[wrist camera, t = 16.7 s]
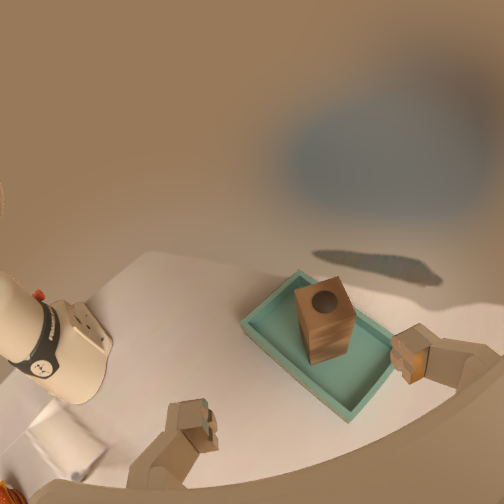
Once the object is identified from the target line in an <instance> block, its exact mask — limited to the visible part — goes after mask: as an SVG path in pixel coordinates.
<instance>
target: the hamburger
mask: <svg viewBox="0 0 504 504" xmlns="http://www.w3.org/2000/svg"><path fill="white" fill-rule="evenodd" d="M0 504H27V502H26V500H25V498H24V497H23V496H22V495H21V493H20V492H18V491H17V490H15V489H9V488H6V486H5V484H4V481H3V480H2V481H1V482H0Z"/></svg>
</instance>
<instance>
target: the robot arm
mask: <svg viewBox="0 0 504 504" xmlns="http://www.w3.org/2000/svg"><path fill="white" fill-rule="evenodd" d="M3 211H4V195H3V189H2V185H1V182H0V219H1V218H2V216H3ZM44 299H45V296H44V294H43V292H42V291H40V290H39V289H38V290H37V291H36V293H35V294H33V295H30V294H29V293H28V292H27V291H26V290H25V289H24V288H23V287H22V286H21V285H20V284H19V283H18V282H17V281H16V280H15V279H14V278H13V277H12V276H11V275H9V274H7V273H4V272H1V271H0V355H2V356H3V357H5V358H7V359H8V361H9V363H10V364H11V365H13V366H14V367H15V368H16V369H18V370H20V371H22V372H23V373H25V374H26V375H27V376H28V377H30V378H31V379H32V380H34V381H35V382H37V383H38V384H39V385H41V386H42V387H44V388H46V390H47V392H48V393H49V394H50V395H52V396H57V397H60V398H62V399H63V400H64V401H66V402H67V403H70V404H81V403H84V402H86V401H88V400H89V399H90V398H91V397H92V396H93V395H94V394H95V393H96V392H97V390H98V389H99V387H100V385H101V383H102V381H103V378H104V375H105V370H106V362H107V357H108V355H109V352H110V350H111V348H112V345H113V341H112V339H111V338H110V337H109V335H108V334H107V333H106V332H105V330H104V329H103V328H102V326H101V325H100V324H99V323H98V321H97V320H96V319H95V317H94V316H93V314H92V313H91V312H90V310H89V309H88V307H87V306H86V305H85V304H84V303H83V302H78V303H76V304H73V305H70V304H68V303H67V302H66V301H64V300H59V301H56V302H54V303H52V304H51V305H48V304H45V303H43V302H41V301H42V300H44ZM391 345H392V346H393V348H392V350H391V352H390V358H391V362H392V364H393V366H394V368H395V369H396V370H397V371H401V372H402V377H403V378H404V379H405V380H406V382H407V383H408V384H409V385H410V384H412V383H414V382H416V381H418V380H420V379H422V378H423V377H425V378H427V379H430V380H433V381H435V382H438V383H441V384H444V385H447V386H449V387H452V388H455V389H457V390H456V393H455V395H454V396H452V397H451V398H449V399H448V400H446V401H445V402H443V403H442V404H441V405H439V406H437V407H436V408H434V409H433V410H431V411H430V412H428V413H426V414H425V415H423V416H421V417H420V418H418V419H416V420H415V421H413V422H411V423H409V424H408V425H406V426H404V427H402V428H400V429H399V430H397V431H395V432H393V433H391V434H389V435H387V436H385V437H383V438H381V439H379V440H377V441H374V442H372V443H370V444H368V445H366V446H363V447H361V448H359V449H356V450H354V451H352V452H349V453H347V454H344V455H342V456H339V457H336V458H334V459H331V460H328V461H325V462H322V463H319V464H316V465H313V466H310V467H307V468H303V469H300V470H297V471H293V472H289V473H285V474H282V475H277V476H273V477H269V478H264V479H260V480H255V481H249V482H244V483H238V484H231V485H224V486H216V487H207V488H195V489H187V488H186V487H185V486H184V485H183V484H182V482H183V481H184V479H185V478H186V476H187V474H188V473H189V471H190V469H191V468H192V466H193V465H194V463H195V461H196V460H197V458H198V456H199V454H200V453H206V452H212V451H218V450H219V448H218V438H217V436H216V434H215V433H216V432H217V422H216V418H215V416H214V413H213V412H212V410H210V409H208V403H207V401H206V399H204V398H202V399H195V400H189V401H182V402H177V403H170V404H169V406H168V412H167V419H166V426H165V432H161V433H160V434H159V436H158V437H157V438H156V439H155V440H154V441H153V442H152V443H151V444H150V445H149V446H148V448H147V449H146V450H145V451H144V452H143V453H142V454H141V455H140V456H139V457H138V458H137V459H136V460H135V461H134V462H133V464H132V465H131V466H130V469H129V474H128V480H127V486H126V489H125V488H114V487H104V486H97V485H90V484H84V483H78V482H73V481H68V480H64V479H54V480H53V481H51V482H49V483H48V484H46V485H45V486H44V487H42V488H41V489H40V490H38V491H37V492H36V493H34V494H33V496H32V497H31V499H30V500H29V502H28V504H504V355H503V356H502V357H501V356H500V355H499V354H497V353H496V352H495V351H493V350H492V349H491V348H489V347H488V346H487V345H485V344H478V343H471V342H465V341H458V340H452V339H446V338H443V339H440V338H439V337H438V336H436V335H435V334H434V333H433V332H431V331H430V330H429V329H428V328H426V327H425V326H424V325H422V324H421V323H418V324H416V325H414V326H413V327H411V328H409V329H407V330H405V331H403V332H401V333H399V334H397V335H395V336H393V337H392V338H391Z"/></svg>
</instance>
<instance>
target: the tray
mask: <svg viewBox="0 0 504 504" xmlns="http://www.w3.org/2000/svg"><path fill="white" fill-rule="evenodd" d="M316 283H318V282H317V281H315V280H314V279H312V278H311V277H309V276H308V275H306V274H305V273H304V272H302V271H301V270H298V271H297V272H296V273H294V274H293V275H292V276H291V277H290V278H289V279H288V280H287V281H286V282H285V283H283V284H282V285H281V286H280V287H279V288H278V289H277V290H276V291H275V292H273V293H272V294H271V295H270V296H269V297H268V298H267V299H266V300H264V301H263V302H262V303H261V304H260V305H259V306H258V307H257V308H255V309H254V310H253V311H252V312H251V313H250V314H248V315H247V316H246V317H245V318H244V319H243V320H242V321H240V322H239V324H240V326H241V327H242V329H243V331H244V332H245V333H246V334H247V335H248V336H249V337H250V338H251V339H252V340H253V341H254V342H255V343H256V344H257V345H258V346H259V347H260V348H261V349H262V350H264V351H265V352H266V353H267V354H268V355H269V356H270V357H271V358H272V359H273V360H274V361H275V362H277V363H278V364H279V365H280V366H281V367H282V368H283V369H284V370H285V371H286V372H288V373H289V374H290V375H291V376H292V377H293V378H294V379H295V380H297V381H298V382H299V383H300V384H301V385H302V386H303V387H305V388H306V389H307V390H308V391H309V392H310V393H312V394H313V395H314V396H315V397H316V398H317V399H319V400H320V401H321V402H322V403H323V404H325V405H326V406H327V407H328V408H329V409H331V410H332V411H333V412H334V413H335V414H337V415H338V416H339V417H340V418H342V419H343V420H344V421H345V422H347V423H349V422H351V421H352V420H353V419H354V418H355V416H356V415H357V414H358V413H359V412H360V411H361V410H362V409H363V407H364V406H365V405H366V404H367V403H368V402H369V400H370V399H371V398H372V397H373V396H374V394H375V393H376V392H377V391H378V389H379V388H380V387H381V386H382V384H383V383H384V382H385V381H386V379H387V378H388V377H389V375H390V374H391V373H392V371H393V370H394V369H395V368H394V366H393V364H392V362H391V358H390V352H391V350H392V348H393V346H392V345H391V338H392V337H393V336H395V335H393V334H392V333H390V332H389V331H387V330H386V329H385V328H383V327H382V326H380V325H379V324H377V323H376V322H375V321H373V320H372V319H370V318H369V317H367V316H366V315H365V314H363V313H362V312H360V311H359V310H357V309H356V308H354V307H353V308H354V310H355V312H356V314H357V315H356V319H355V323H354V327H353V331H352V335H351V339H350V343H349V346H348V350H347V354H344V355H341V356H338V357H335V358H333V359H330V360H327V361H324V362H321V363H318V364H315V365H310V362H309V359H308V356H307V353H306V350H305V347H304V344H303V340H302V337H301V334H300V328H299V320H298V313H297V306H296V299H295V292H294V290H296V289H299V288H303V287H306V286H309V285H312V284H316Z"/></svg>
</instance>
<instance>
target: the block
mask: <svg viewBox="0 0 504 504" xmlns="http://www.w3.org/2000/svg"><path fill="white" fill-rule="evenodd" d="M294 292H295V299H296V306H297V313H298V320H299V328H300V334H301V337H302V340H303V344H304V347H305V350H306V353H307V356H308V359H309V362H310V365H315V364H318V363H321V362H324V361H327V360H330V359H333V358H335V357H338V356H341V355H344V354H347V350H348V346H349V343H350V339H351V335H352V331H353V327H354V323H355V319H356V315H357V314H356V312H355V310H354V308H353V306H352V304H351V301H350V299H349V297H348V295H347V293H346V291H345V289H344V287H343V285H342V283H341V281H340V279H339V277H338V276H337V277H334V278H331V279H328V280H325V281H322V282H319V283H316V284H312V285H309V286H306V287H303V288H299V289H296V290H294Z"/></svg>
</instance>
